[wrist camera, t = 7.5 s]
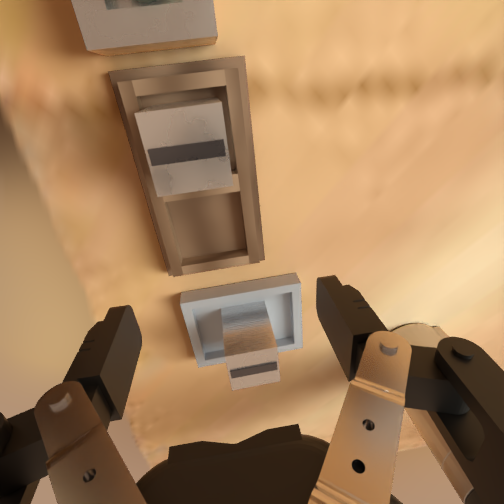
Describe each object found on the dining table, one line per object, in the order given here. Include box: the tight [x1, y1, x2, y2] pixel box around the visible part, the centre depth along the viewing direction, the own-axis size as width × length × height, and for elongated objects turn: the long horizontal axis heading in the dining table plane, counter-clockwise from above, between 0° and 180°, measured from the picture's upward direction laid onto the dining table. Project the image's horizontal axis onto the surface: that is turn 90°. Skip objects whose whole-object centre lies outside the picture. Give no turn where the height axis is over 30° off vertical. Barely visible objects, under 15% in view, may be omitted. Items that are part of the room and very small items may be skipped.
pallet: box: [108, 56, 265, 277], centre depth 26 cm, size 10×18×2 cm, turn 6°
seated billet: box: [134, 97, 233, 197], centre depth 21 cm, size 5×5×7 cm
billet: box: [221, 301, 280, 391], centre depth 32 cm, size 5×5×7 cm
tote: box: [180, 273, 303, 368], centre depth 35 cm, size 13×10×2 cm
